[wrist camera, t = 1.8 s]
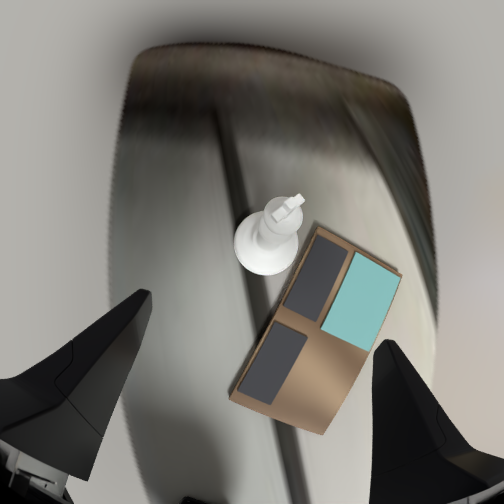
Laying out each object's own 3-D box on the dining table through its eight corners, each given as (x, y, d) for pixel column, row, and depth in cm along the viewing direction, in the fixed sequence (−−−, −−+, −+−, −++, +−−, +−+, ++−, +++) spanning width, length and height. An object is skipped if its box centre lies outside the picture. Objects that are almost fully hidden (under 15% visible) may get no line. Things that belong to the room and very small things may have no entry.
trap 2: (270, 404, 20) (270, 405, 20) (237, 390, 20) (237, 391, 20) (307, 337, 21) (308, 337, 21) (274, 321, 21) (275, 321, 21)
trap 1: (315, 322, 21) (315, 322, 21) (282, 305, 21) (283, 306, 21) (347, 252, 22) (348, 251, 22) (317, 235, 22) (318, 234, 22)
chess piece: (220, 238, 22) (210, 193, 12) (270, 200, 23) (295, 135, 13) (261, 288, 22) (284, 284, 12) (310, 248, 22) (364, 214, 12)
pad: (368, 351, 21) (369, 351, 21) (320, 328, 21) (320, 329, 21) (399, 278, 22) (400, 278, 22) (355, 252, 22) (356, 251, 22)
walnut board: (320, 432, 20) (322, 435, 20) (229, 397, 20) (229, 399, 20) (399, 275, 22) (402, 275, 22) (316, 227, 23) (318, 226, 22)
